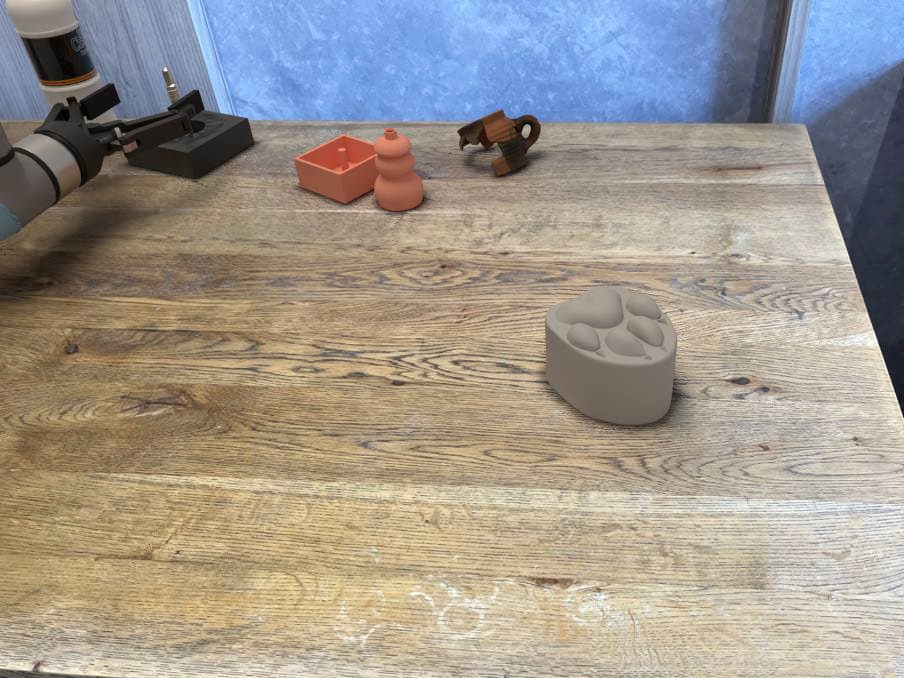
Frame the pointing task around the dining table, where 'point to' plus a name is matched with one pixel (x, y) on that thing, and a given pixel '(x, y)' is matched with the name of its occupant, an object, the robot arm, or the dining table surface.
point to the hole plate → (199, 146)
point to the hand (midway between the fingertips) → (157, 95)
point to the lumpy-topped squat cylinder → (612, 355)
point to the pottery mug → (502, 138)
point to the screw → (171, 87)
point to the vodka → (57, 51)
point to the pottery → (363, 170)
